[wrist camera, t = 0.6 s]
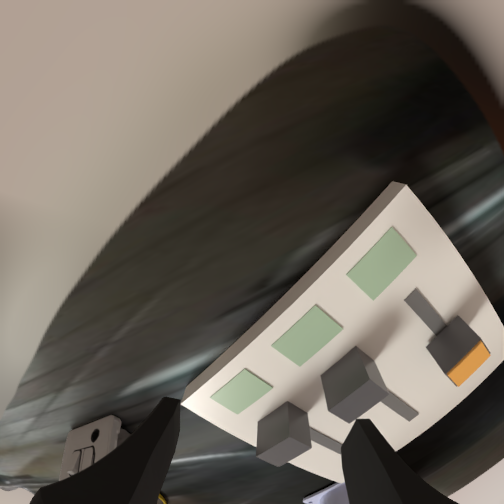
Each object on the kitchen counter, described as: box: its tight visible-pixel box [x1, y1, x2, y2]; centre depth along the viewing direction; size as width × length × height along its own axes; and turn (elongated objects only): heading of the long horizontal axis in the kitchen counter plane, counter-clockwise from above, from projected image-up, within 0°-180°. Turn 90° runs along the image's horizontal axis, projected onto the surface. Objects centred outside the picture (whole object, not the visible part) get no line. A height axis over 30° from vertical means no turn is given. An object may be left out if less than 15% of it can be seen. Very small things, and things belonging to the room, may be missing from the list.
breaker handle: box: [426, 315, 491, 387], centre depth 16 cm, size 2×3×3 cm, turn 139°
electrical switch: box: [59, 415, 131, 481], centre depth 21 cm, size 9×5×9 cm, turn 125°
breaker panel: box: [181, 181, 504, 484], centre depth 18 cm, size 18×20×5 cm
